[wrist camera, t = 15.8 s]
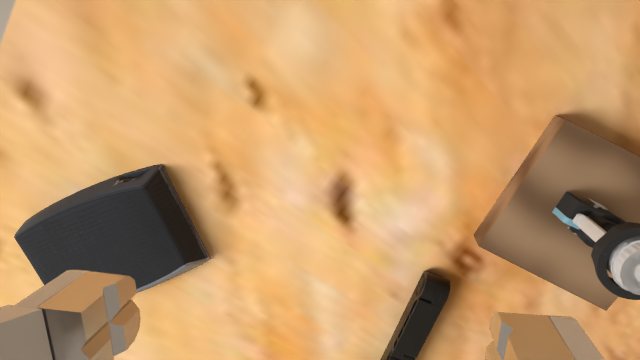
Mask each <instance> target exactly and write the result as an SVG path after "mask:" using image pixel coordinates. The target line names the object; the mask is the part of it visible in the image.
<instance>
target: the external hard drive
mask: <svg viewBox="0 0 640 360" xmlns="http://www.w3.org/2000/svg"><path fill="white" fill-rule="evenodd" d="M14 238H15V239H16V241H17V242H18V244H19V246H20V247H21V249H22V250H23V252H24V253H25V255H26V256H27V258H28V260H29V261H30V263H31V264H32V266H33V268H34V269H35V271H36V272H37V274H38V275H39V277H40V279H41V280H42V282H43V284H44V285H46V284H47V283H49V282H50V281H52V280H53V279H55V278H56V277H58V276H59V275H61V274H62V273H64V272H65V271H67V270H84V271H91V272H101V273H110V274H118V275H127V276H130V277H132V278H133V279H134V280H135V284H136V290H137V293H138V292H141V291H143V290H146V289H148V288H151V287H153V286H156V285H158V284H160V283H163V282H165V281H167V280H169V279H172V278H174V277H176V276H178V275H180V274H182V273H184V272H186V271H188V270H191V269H193V268H195V267H197V266H198V265H200V264H202V263H204V262H206V261H208V260H209V259H210V257H209V254H208V252H207V251H206V249H205V247H204V245H203V243H202V241H201V239H200V237H199V235H198V233H197V231H196V229H195V227H194V225H193V223H192V221H191V219H190V217H189V216H188V214H187V212H186V210H185V208H184V206H183V204H182V202H181V200H180V198H179V196H178V194H177V192H176V190H175V188H174V186H173V185H172V183H171V181H170V179H169V177H168V175H167V173H166V171H165V169H164V167H163V165H162V164H161V165H153V166H150V167H146V168H142V169H138V170H136V171H132V172H129V173H125V174H123V175H119V176H116V177H113V178H111V179H108V180H105V181H103V182H100V183H98V184H95V185H92V186H90V187H88V188H85V189H83V190H81V191H79V192H77V193H74V194H72V195H70V196H68V197H66V198H64V199H62V200H60V201H58V202H56V203H54V204H52V205H50V206H49V207H47V208H45V209H44V210H42V211H40V212H38V213H37V214H35V215H34V216H32V217H31V218H29V219H28V220H27V221H26V222H25V223H24V224H23V225H22V226H21V227H20V229H19V230H18V231H17V233H16V234H15V236H14Z"/></svg>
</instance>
